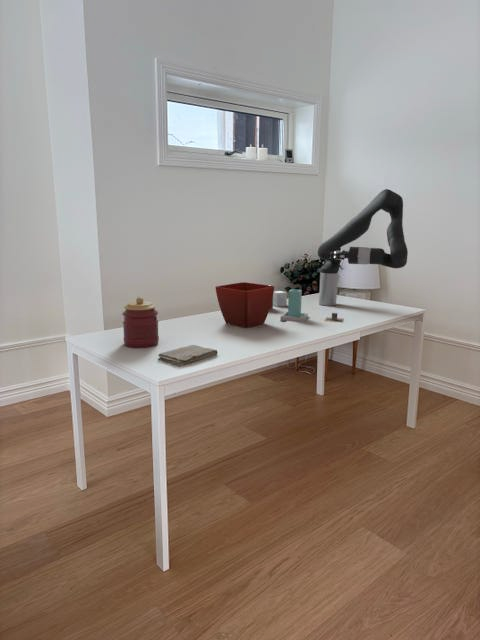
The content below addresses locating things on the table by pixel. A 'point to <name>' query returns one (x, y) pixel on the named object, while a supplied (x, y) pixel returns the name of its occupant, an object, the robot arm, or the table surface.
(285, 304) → the skincare box
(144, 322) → the canister
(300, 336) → the table surface
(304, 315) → the tray
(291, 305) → the teal square tube
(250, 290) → the plant pot
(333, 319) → the square wooden base
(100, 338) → the table surface
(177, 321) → the table surface
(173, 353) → the washcloth
